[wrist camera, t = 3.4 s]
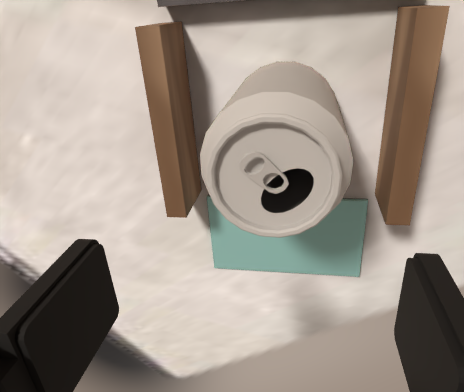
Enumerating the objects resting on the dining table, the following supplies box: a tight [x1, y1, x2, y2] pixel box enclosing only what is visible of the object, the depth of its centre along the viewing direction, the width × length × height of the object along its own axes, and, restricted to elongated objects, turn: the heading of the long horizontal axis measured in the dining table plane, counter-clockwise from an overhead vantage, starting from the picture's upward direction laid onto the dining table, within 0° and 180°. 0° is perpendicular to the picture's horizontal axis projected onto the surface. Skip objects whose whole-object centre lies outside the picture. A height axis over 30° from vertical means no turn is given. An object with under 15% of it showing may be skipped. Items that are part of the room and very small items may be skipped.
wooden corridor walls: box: [135, 5, 449, 225], centre depth 25 cm, size 17×13×4 cm
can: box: [200, 62, 353, 238], centre depth 22 cm, size 8×8×12 cm
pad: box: [207, 196, 368, 277], centre depth 32 cm, size 13×8×1 cm, turn 94°
